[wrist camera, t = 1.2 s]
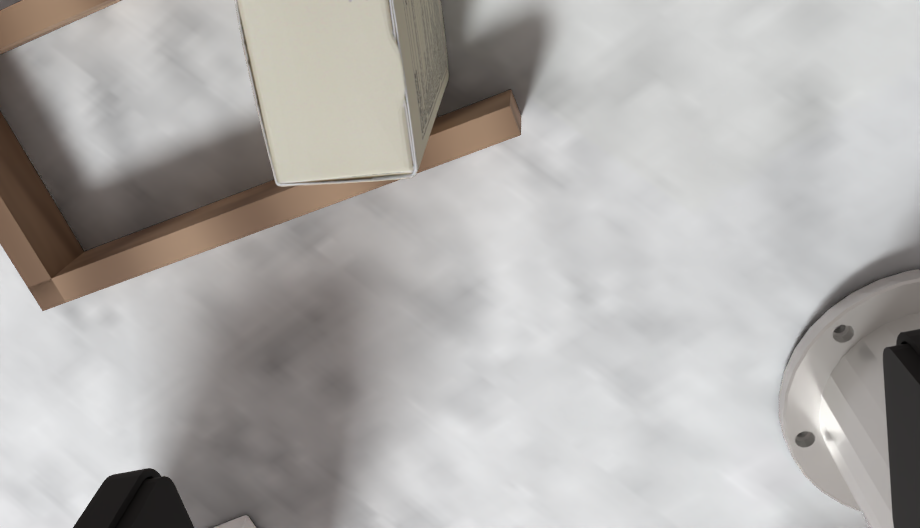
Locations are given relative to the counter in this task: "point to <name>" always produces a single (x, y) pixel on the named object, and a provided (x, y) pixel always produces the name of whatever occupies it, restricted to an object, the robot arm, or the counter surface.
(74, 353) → the counter surface
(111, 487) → the robot arm
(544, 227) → the counter surface
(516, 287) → the counter surface
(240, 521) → the milk carton
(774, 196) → the counter surface
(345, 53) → the skincare box
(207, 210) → the walnut rest
